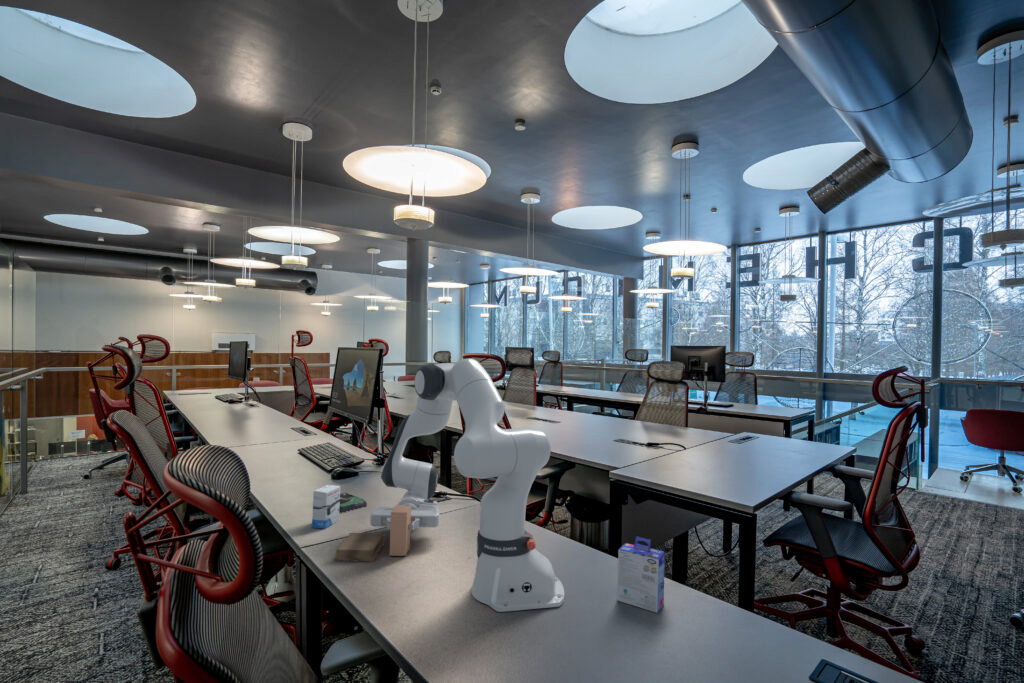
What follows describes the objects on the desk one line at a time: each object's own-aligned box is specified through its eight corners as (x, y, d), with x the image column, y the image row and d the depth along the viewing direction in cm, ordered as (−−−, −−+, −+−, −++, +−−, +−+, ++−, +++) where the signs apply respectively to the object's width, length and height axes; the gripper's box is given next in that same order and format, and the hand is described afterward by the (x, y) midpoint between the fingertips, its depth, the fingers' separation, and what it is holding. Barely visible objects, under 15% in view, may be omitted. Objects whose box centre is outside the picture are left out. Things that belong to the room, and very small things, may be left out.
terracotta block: (409, 547, 137) (411, 505, 137) (405, 555, 131) (407, 512, 131) (394, 546, 137) (395, 505, 137) (389, 555, 131) (390, 512, 131)
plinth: (384, 543, 140) (384, 533, 140) (372, 561, 128) (373, 550, 128) (350, 543, 140) (350, 532, 140) (336, 560, 128) (336, 549, 128)
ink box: (324, 529, 150) (326, 492, 150) (311, 528, 151) (312, 491, 151) (339, 520, 158) (341, 485, 159) (326, 519, 159) (327, 484, 160)
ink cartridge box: (665, 603, 110) (666, 541, 110) (658, 614, 105) (660, 549, 105) (624, 591, 115) (625, 531, 115) (616, 601, 110) (617, 539, 111)
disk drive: (320, 505, 175) (341, 514, 165) (320, 498, 175) (342, 506, 165) (345, 499, 183) (367, 507, 173) (345, 492, 183) (367, 499, 173)
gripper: (377, 500, 147) (364, 515, 133) (442, 501, 148) (435, 516, 134) (376, 520, 147) (363, 537, 133) (441, 521, 147) (435, 538, 134)
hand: (400, 527), depth 134 cm, fingers closed on terracotta block, 4 cm apart
